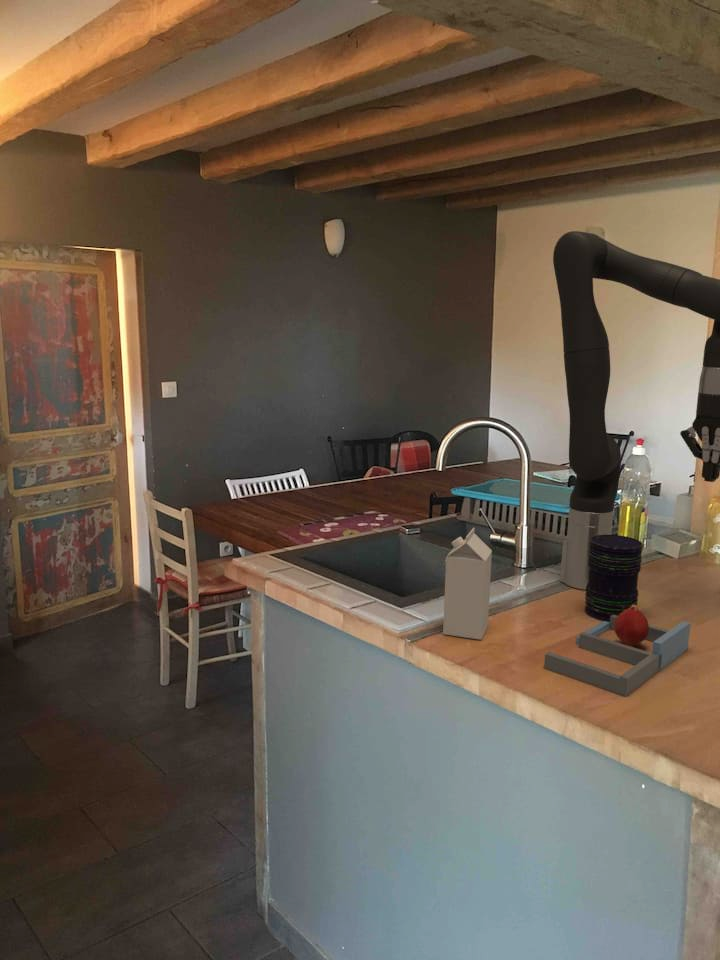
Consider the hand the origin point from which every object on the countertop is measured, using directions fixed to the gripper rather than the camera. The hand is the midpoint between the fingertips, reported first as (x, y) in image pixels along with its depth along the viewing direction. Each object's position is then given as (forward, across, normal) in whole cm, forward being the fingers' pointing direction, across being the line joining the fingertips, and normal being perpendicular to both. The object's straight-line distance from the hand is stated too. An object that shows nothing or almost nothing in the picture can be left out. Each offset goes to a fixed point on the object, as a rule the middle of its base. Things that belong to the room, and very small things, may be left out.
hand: (710, 481), depth 149 cm
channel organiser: (+27, -2, -32) cm, 42 cm away
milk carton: (+27, -27, -41) cm, 56 cm away
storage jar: (+27, -12, -13) cm, 32 cm away
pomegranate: (+27, -2, -26) cm, 38 cm away
